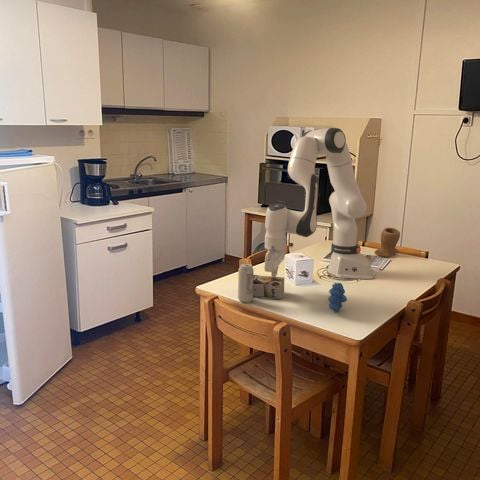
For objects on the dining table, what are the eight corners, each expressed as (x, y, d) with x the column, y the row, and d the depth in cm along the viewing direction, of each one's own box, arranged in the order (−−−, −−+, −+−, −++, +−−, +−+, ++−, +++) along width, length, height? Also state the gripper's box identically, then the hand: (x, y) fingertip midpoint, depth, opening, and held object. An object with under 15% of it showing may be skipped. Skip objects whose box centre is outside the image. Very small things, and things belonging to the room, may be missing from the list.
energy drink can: (244, 296, 200) (244, 262, 196) (255, 300, 196) (256, 265, 192) (235, 300, 195) (235, 265, 191) (246, 304, 191) (247, 268, 188)
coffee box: (282, 284, 195) (243, 280, 198) (281, 298, 197) (242, 295, 200) (284, 276, 204) (247, 273, 207) (284, 290, 206) (247, 287, 209)
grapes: (339, 319, 179) (341, 288, 176) (323, 314, 183) (324, 284, 180) (352, 309, 188) (354, 280, 185) (336, 305, 192) (338, 276, 189)
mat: (283, 290, 208) (283, 289, 207) (277, 300, 197) (277, 299, 196) (248, 285, 212) (248, 284, 212) (240, 295, 201) (240, 294, 201)
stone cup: (392, 260, 253) (394, 232, 249) (371, 255, 261) (373, 228, 257) (404, 254, 264) (406, 227, 260) (383, 250, 272) (386, 224, 268)
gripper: (276, 251, 187) (275, 284, 190) (288, 238, 206) (287, 269, 209) (261, 249, 189) (260, 282, 192) (274, 237, 208) (273, 268, 211)
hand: (274, 275), depth 201 cm, fingers closed
